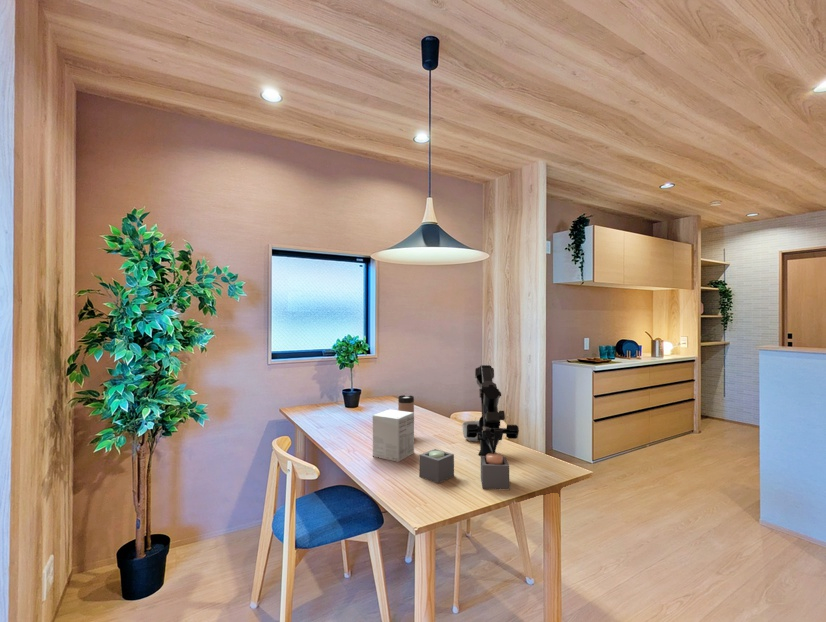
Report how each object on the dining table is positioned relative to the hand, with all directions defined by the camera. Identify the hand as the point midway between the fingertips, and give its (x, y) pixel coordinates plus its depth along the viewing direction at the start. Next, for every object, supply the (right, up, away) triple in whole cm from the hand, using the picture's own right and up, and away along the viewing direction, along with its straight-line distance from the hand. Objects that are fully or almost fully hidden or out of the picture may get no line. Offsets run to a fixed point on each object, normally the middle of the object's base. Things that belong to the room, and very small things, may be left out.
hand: (493, 452), depth 145 cm
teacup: (+1, -11, +51) cm, 52 cm away
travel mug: (-32, -11, +52) cm, 62 cm away
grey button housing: (-20, -10, +5) cm, 23 cm away
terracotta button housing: (0, -10, -2) cm, 10 cm away
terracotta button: (0, -3, -2) cm, 4 cm away
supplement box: (-37, -11, +28) cm, 48 cm away
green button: (-20, -5, +5) cm, 21 cm away
